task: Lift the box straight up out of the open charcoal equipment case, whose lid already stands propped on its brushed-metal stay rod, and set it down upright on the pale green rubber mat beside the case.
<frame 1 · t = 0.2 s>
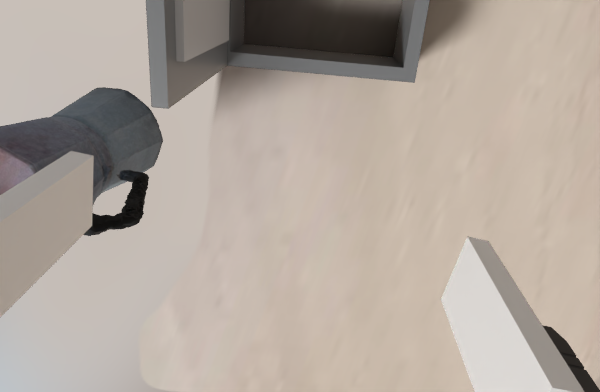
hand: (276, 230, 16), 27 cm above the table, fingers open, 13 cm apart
moka pot: (122, 130, 44), on the table
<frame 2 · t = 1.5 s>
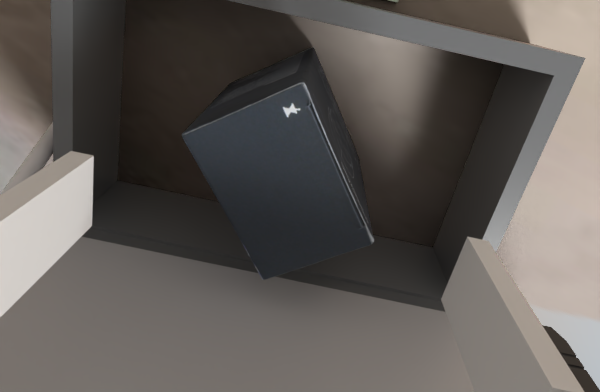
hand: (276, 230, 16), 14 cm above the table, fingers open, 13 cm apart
case: (296, 123, 29), on the table
box: (296, 122, 29), resting in case
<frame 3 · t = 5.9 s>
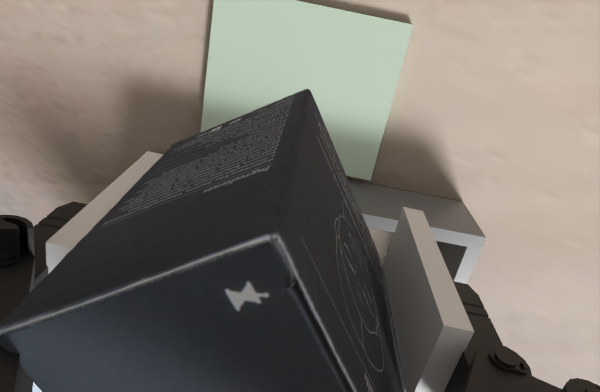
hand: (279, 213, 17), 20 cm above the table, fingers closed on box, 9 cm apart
case: (303, 251, 41), on the table
pad: (299, 88, 35), on the table
box: (283, 201, 18), point 18 cm above the table, touching gripper
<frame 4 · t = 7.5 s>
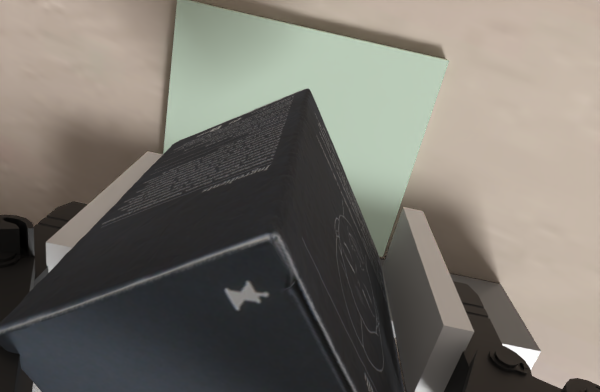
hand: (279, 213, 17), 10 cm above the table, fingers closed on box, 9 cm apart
case: (293, 336, 32), on the table
pad: (291, 138, 26), on the table
box: (282, 201, 18), point 8 cm above the table, touching gripper
when the fingers open (3 cm above the table, at t = 9.0 s): box drops 1 cm, resting on pad.
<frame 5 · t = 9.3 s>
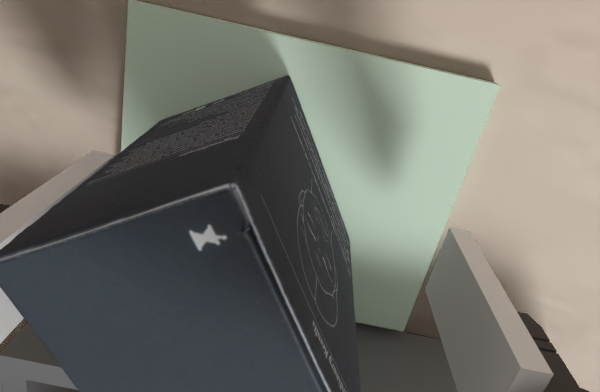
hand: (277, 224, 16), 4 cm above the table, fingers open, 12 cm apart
pad: (286, 183, 20), on the table
box: (261, 181, 19), resting on pad
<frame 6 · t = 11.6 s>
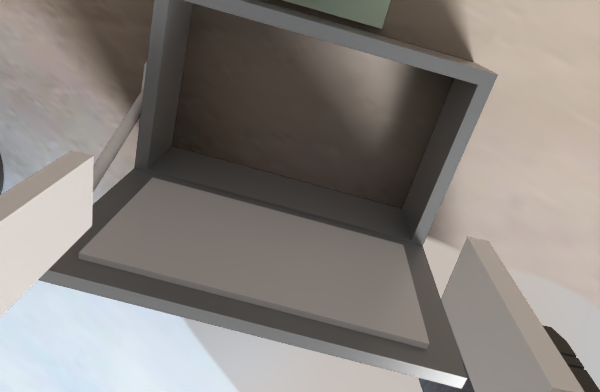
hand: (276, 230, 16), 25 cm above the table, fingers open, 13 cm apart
case: (306, 110, 39), on the table
moka pot: (445, 324, 48), on the table
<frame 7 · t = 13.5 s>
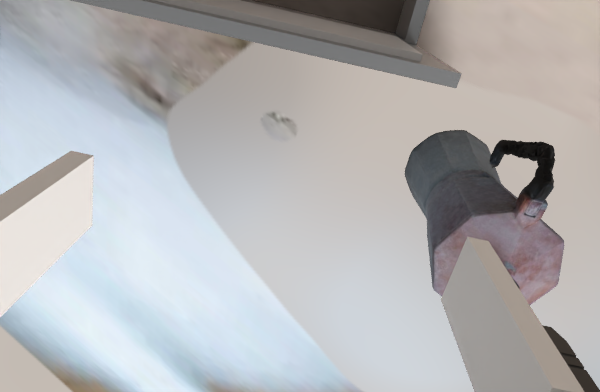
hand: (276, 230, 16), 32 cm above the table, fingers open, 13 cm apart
moka pot: (445, 165, 48), on the table
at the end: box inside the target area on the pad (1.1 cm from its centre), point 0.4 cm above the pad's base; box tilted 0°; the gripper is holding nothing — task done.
